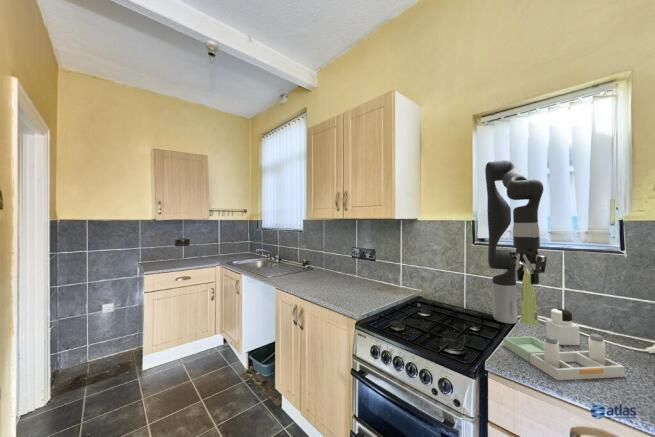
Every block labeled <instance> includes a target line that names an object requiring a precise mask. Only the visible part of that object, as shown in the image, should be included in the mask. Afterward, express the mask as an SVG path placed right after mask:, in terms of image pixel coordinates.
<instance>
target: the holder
mask: <svg viewBox="0 0 655 437" xmlns="http://www.w3.org/2000/svg"><path fill="white" fill-rule="evenodd" d="M559 357H560V368H558V369H557V368H556V367H554V366H552V365H551V364H549V363H547V362H546V361H545V360H544V353H532V354H530V364H531V365H533V366H535V367H536V368H538V369H539V370H541V371H542V372H544V373H546V374H547V375H548V376H550V377H551V378H553V379H554V380H556V381H567V380H568V381H570V380H572V381H574V380H589V379H590V380H591V379H607V378H608V379H609V378H611V379H612V378H625V377H626V370H625V366H624V365H622V364H620V363H617V362H616V361H613V360H611V359H609V358H607V357H606V366H604V365H602V364H600V363H598V362H596V361H594V360H592V359H590V358H589V350H573V351H572V350H571V351H560V352H559ZM568 363H577V364H579V365H581V367H579V366H577V367H574V366H572V365H570V364H568Z"/></svg>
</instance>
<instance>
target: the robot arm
mask: <svg viewBox="0 0 655 437" xmlns="http://www.w3.org/2000/svg"><path fill="white" fill-rule="evenodd" d="M484 168H485V169H484V170H485V171H484V172H485V183H486V184H485V185H486V192H487V229H488V247H487V248H488V251H487V257H488V258H487V259H488V266H489V268H490V269H493V270H506V271H505V272H504V273H500V274H498V275H494V276H493V277H492V297H491V303H492V304H491V307H492V309H491V311H492V318H493V319H494V320H496V321H497V322H501V323H505V324H510V325H511V324H517V323H518V298H517V281H520V282H521V281H522V282H523V276H524V272H525V268H526V267H527V268H529V274H530V277H531V284H533V286H534V285H535V286H537V285H539V283H540V274H544V273H546V267H547V266H546V265H547V259H548V257H547V255H540V254H539V249H540V248H541V243H540V242H541V240H540V227H539V218H538V215H539V214H538V213H539V207H540V202H541V199H542V196H543V193H544V184H543V183H542V182H541V181H540V180H539V179H528V178H526V176H524V174H521V173H520V172H519V170H518V168H517V166H516V164H515V163H514V162H513V161H512V160H509V159H507V160H505V159H504V160H494V161H488V162H487V163H486V165H485V167H484ZM496 182H502V185H503V186H504V187H505V189H506V196H507V198H508V199H509V200H512V201H523V200H524V201H525V200H528V203H527V204H525V205H522V206H521V205H520V206H517V207H514V208H513V210H512V209H511V206H510V204H509V203H508V202H507V201H506V199H505V198H504V197H503V196H502V195H501V193H500V192H499V190H498V188H497V186H496ZM511 212H512V213H513V214H512V213H511ZM512 215H513V218H512ZM512 220H513V225H512V238H513V239H512V240H513V248H514V249H515V251H514V250H513V249H497V246H498V243H499V242H500V239H501V238H502V236H503V234H504V233H505V232H506V231H508V228H509V226H510V225H511V223H512Z"/></svg>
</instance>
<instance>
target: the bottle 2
mask: <svg viewBox="0 0 655 437" xmlns="http://www.w3.org/2000/svg"><path fill="white" fill-rule="evenodd" d="M588 351H589V358H590V359H592V360H594V361H596V362H598V363H600V364H602V365H604V366H606V358H607V357H606V341H605V340H604V337H603V336H602V335H599V334H596V333H590V334H589V337H588Z"/></svg>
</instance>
